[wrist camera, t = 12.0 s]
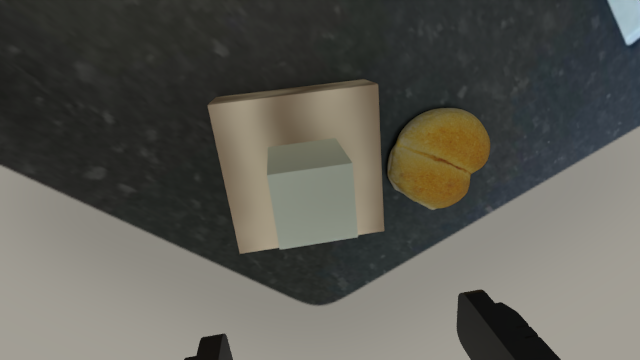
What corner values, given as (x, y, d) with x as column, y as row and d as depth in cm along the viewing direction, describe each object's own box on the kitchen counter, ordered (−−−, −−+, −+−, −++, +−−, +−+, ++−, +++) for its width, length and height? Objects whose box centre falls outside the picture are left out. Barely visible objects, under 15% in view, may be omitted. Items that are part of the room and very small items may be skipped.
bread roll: (493, 128, 32) (523, 139, 29) (440, 209, 35) (460, 229, 31) (421, 86, 30) (443, 92, 26) (369, 176, 32) (382, 193, 29)
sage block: (335, 137, 26) (352, 163, 21) (340, 199, 28) (358, 237, 22) (267, 147, 26) (266, 175, 20) (278, 208, 28) (279, 249, 22)
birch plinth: (364, 79, 29) (377, 84, 25) (371, 210, 33) (384, 230, 30) (216, 97, 28) (207, 105, 24) (243, 229, 32) (240, 253, 29)
